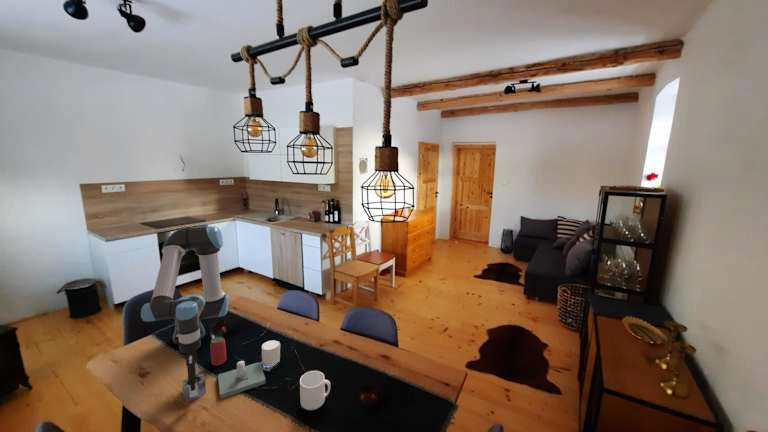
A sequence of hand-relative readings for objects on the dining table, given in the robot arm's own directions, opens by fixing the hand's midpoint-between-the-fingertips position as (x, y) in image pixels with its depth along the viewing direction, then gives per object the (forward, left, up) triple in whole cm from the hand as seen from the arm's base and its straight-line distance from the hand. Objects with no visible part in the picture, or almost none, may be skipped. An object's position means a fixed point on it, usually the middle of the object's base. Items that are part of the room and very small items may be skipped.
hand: (194, 385), depth 127 cm
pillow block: (+2, +18, -4) cm, 19 cm away
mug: (+30, +43, -4) cm, 52 cm away
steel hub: (0, 0, -4) cm, 4 cm away
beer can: (-18, +10, -4) cm, 21 cm away
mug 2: (-6, +33, -4) cm, 34 cm away
